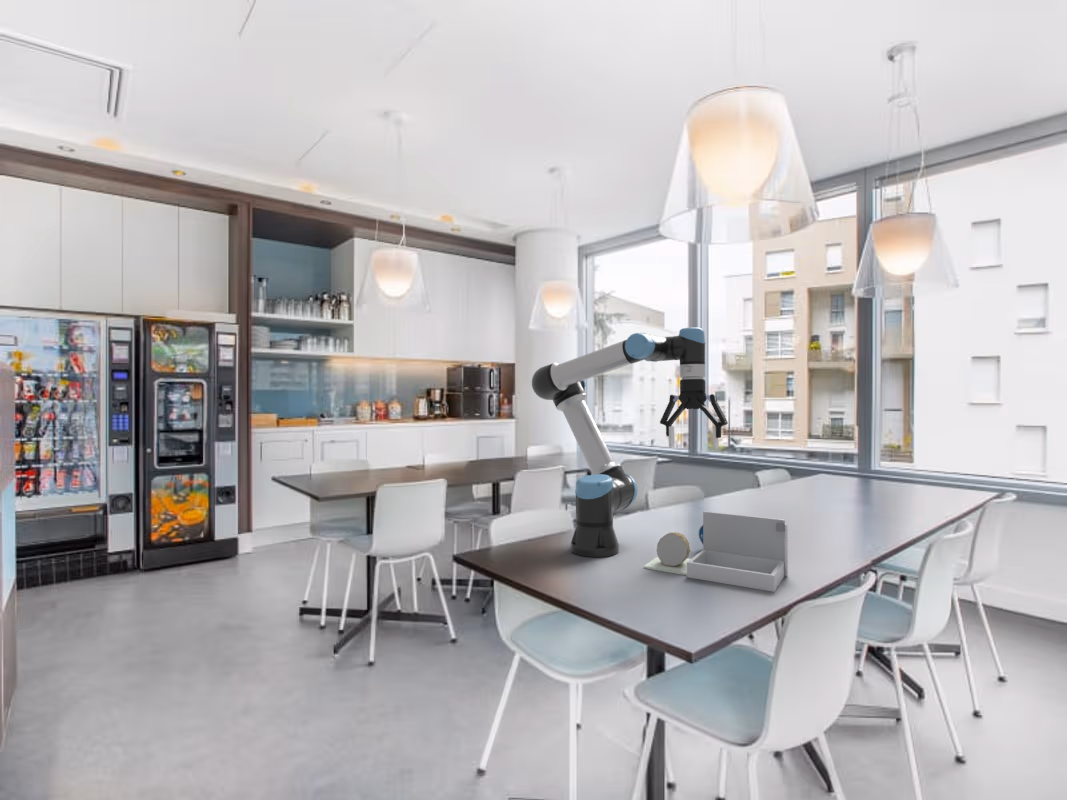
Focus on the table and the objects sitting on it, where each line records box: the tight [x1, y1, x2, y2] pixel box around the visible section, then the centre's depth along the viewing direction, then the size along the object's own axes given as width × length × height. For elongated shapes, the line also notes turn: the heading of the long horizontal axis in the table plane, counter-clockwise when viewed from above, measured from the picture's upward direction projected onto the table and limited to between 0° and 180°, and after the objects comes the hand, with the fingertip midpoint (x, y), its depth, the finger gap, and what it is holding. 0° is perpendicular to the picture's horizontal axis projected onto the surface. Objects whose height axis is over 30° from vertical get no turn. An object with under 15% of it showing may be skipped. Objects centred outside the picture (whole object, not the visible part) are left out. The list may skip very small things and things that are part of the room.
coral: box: [656, 531, 691, 566], centre depth 163 cm, size 10×10×10 cm
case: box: [686, 510, 789, 593], centre depth 154 cm, size 23×16×15 cm
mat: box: [643, 556, 706, 576], centre depth 164 cm, size 14×14×1 cm
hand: (693, 448), depth 174 cm, fingers open, 13 cm apart
